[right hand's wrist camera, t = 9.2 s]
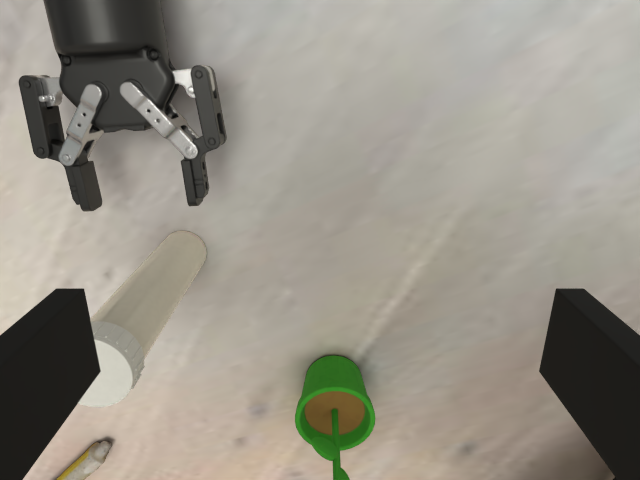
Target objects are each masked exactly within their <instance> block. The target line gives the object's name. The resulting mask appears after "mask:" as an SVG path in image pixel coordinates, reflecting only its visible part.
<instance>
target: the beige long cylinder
mask: <svg viewBox="0 0 640 480" xmlns="http://www.w3.org/2000/svg"><path fill="white" fill-rule="evenodd" d="M206 256H207V251H206V247H205V244H204V243H203V241H202V240H201V239H200V238H199V237H198V236H197V235H195V234H194V233H191V232H188V231H176V232H173V233H171V234H170V235H169V236H167V238H166V239H165V240H164V241H163V242H162V243H161V244H160V245H159V246H158V247H157V248H156V249H155V250H154V251H153V252H152V253H151V255H150V256H149V257H148V258H147V259H146V260H145V261H144V262H143V263H142V264H141V265H140V266H139V267H138V268H137V269H136V270H135V272H134V273H133V274H132V275H131V276H130V277H129V278H128V279H127V280H126V281H125V282H124V283H123V284H122V285H121V286H120V287H119V289H118V290H117V291H116V292H115V293H114V294H113V295H112V296H111V297H110V298H109V299H108V300H107V301H106V302H105V303H104V305H103V306H102V307H101V308H100V309H99V310H98V311H97V312H96V313H95V314H94V315H93V316H92V317H91V318H90V321H93V322H95V321H101V322H103V321H105V322H108V323H112V324H116V325H118V326H120V327H122V328H124V329H125V330H127V331H128V332H130V333H131V334H132V335H133V336H134V337H135V338H136V340H137V341H138V342H139V344H140V346H141V347H142V351H143V354H144V356H145V358H146V356H147V354H148V353H149V351H150V350H151V348H152V346H153V345H154V343H155V341H156V340H157V338H158V337H159V335H160V333H161V332H162V330H163V329H164V327H165V325H166V324H167V322H168V320H169V319H170V317H171V316H172V314H173V312H174V311H175V309H176V308H177V306H178V304H179V303H180V301H181V299H182V298H183V296H184V295H185V293H186V291H187V290H188V288H189V287H190V285H191V283H192V282H193V280H194V278H195V277H196V275H197V274H198V272H199V270H200V269H201V267H202V266H203V264H204V262H205V260H206ZM145 358H144V359H145Z"/></svg>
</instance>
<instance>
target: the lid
mask: <svg viewBox="0 0 640 480" xmlns="http://www.w3.org/2000/svg"><path fill="white" fill-rule="evenodd" d="M91 326H92V331H93V336H94V341H95V345H96V350H97V355H98V360H99V365H100V370H101V372H100V373H99V375H98V376H97V377H96V379H95V380H94V381H93V383H92V384H91V386H90V387H89V388H88V390H87V391H86V393H85V394H84V395H83V397H82V398H81V399H80V401H79V402H78V404H81V405H84V406H88V407H107V406H111V405H114V404H116V403H118V402H120V401H121V400H123V399H124V398H125V397H126V396H127V395H128V393H129V392H130V390H131V389H133V388H134V386H135V384H136V383H137V381H138V379H139V378H140V376H141V374H140V373H141V372H142V370H143V368H144V358H145V356H144V354H143V351H142V347H141V346H140V344H139V342H138V341H137V340H136V338H135V337H134V336H133V335H132V334H131V333H130V332H128V331H127V330H125V329H124V328H122V327H120V326H118V325H116V324H112V323H108V322H105V321H103V322H101V321H95V322H93V321H91Z"/></svg>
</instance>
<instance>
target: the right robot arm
mask: <svg viewBox="0 0 640 480" xmlns="http://www.w3.org/2000/svg"><path fill="white" fill-rule="evenodd" d="M100 372H101V370H100V365H99V360H98V355H97V350H96V345H95V341H94V336H93V331H92V326H91V321H90V316H89V311H88V306H87V301H86V296H85V292H84V289H55V290H54V291H53V292H52V293H51V294H49V295H48V296H47V297H46V298H45V299H43V300H42V301H41V302H40V303H39V304H37V305H36V306H35V307H34V308H33V309H31V310H30V311H29V312H28V313H27V314H25V315H24V316H23V317H22V318H21V319H19V320H18V321H17V322H16V323H15V324H13V325H12V326H11V327H10V328H9V329H8V330H6V331H5V332H4V333H3V334H2V335H0V480H23V478H24V477H25V475H26V474H27V473H28V471H29V470H30V469H31V467H32V466H33V464H34V463H35V462H36V460H37V459H38V457H39V456H40V455H41V453H42V452H43V451H44V449H45V448H46V446H47V445H48V444H49V442H50V441H51V439H52V438H53V437H54V435H55V434H56V433H57V431H58V430H59V428H60V427H61V426H62V424H63V423H64V422H65V420H66V419H67V417H68V416H69V415H70V413H71V412H72V410H73V409H74V408H75V406H76V405H77V404H78V402H79V401H80V399H81V398H82V397H83V395H84V394H85V393H86V391H87V390H88V388H89V387H90V386H91V384H92V383H93V381H94V380H95V379H96V377H97V376H98V375H99V373H100ZM539 372H540V373H541V375H542V376H543V377H544V379H545V380H546V381H547V383H548V384H549V386H550V387H551V388H552V390H553V391H554V393H555V394H556V395H557V397H558V398H559V399H560V401H561V402H562V404H563V405H564V406H565V408H566V409H567V410H568V412H569V413H570V415H571V416H572V417H573V419H574V420H575V422H576V423H577V424H578V426H579V427H580V428H581V430H582V431H583V433H584V434H585V435H586V437H587V438H588V439H589V441H590V442H591V444H592V445H593V446H594V448H595V449H596V451H597V452H598V453H599V455H600V456H601V457H602V459H603V460H604V462H605V463H606V464H607V466H608V467H609V469H610V470H611V471H612V473H613V474H614V475H615V478H614V479H613V480H640V335H638V334H637V333H636V332H635V331H634V330H632V329H631V328H630V327H629V326H628V325H626V324H625V323H624V322H623V321H622V320H621V319H619V318H618V317H617V316H616V315H615V314H613V313H612V312H611V311H610V310H609V309H607V308H606V307H605V306H604V305H603V304H601V303H600V302H599V301H598V300H597V299H595V298H594V297H593V296H592V295H591V294H589V293H588V292H587V291H586V290H585V289H556V292H555V296H554V301H553V306H552V311H551V316H550V321H549V326H548V331H547V336H546V341H545V345H544V350H543V355H542V360H541V365H540V370H539Z"/></svg>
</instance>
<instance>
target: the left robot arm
mask: <svg viewBox="0 0 640 480" xmlns="http://www.w3.org/2000/svg"><path fill="white" fill-rule="evenodd" d="M44 4H45V9H46V13H47V17H48V21H49V25H50V30H51V34H52V38H53V42H54V46H55V50H56V52H57V54H58V56H59V58H60V61H61V74H60V78H51V77H49V76H47V75H25V76H22V77H21V78H20V79H19V86H20V91H21V96H22V101H23V105H24V110H25V115H26V119H27V124H28V129H29V133H30V138H31V143H32V147H33V152H34V154H35V155H36V156H37V157H38V158H41V159H44V158H49V159H52V160H56V161H59V162H60V163H61V164H62V165H63V166H64V167H65V170H66V174H67V178H68V182H69V186H70V190H71V194H72V198H73V200H74V201H75V203H76V204H77V205H79V204H80V206H81V209H82V210H83V211H94V210H96V209H97V208H99V207H100V206H101V205H102V198H101V193H100V189H99V185H98V180H97V176H96V172H95V167H94V163H93V161H88V158H89V156H90V154H91V152H92V150H93V148H94V146H95V144H96V142H97V140H98V139H99V138H100V137H101V136H102V134H103V133H106V132H116V131H119V130H123V129H128V130H133V131H140V130H147V129H150V128H153V127H154V128H155V129H156V130H157V131H158V132H159V133H160V134H161V135H162V136H163V137H164V138H166V139H168V140H169V141H170V142H171V143H172V144H173V145H174V146H175V147H176V148H177V149H178V150H179V151H180V152H181V153H182V154H183V155H184V159H183V160H182V161H181V165H182V171H183V178H184V184H185V190H186V196H187V202H188V205H189V206H199V205H200V203H201V202H202V201H203V198H204V197H205V196H206V195H207V194H208V190H209V183H208V177H207V170H206V163H205V155H206V153H207V152H208V151H211V150H213V149H216V148H218V147H219V146H220V145H222V144H224V143H225V141H226V138H227V137H226V131H225V126H224V121H223V115H222V110H221V105H220V99H219V94H218V88H217V83H216V78H215V73H214V70H213V69H212V68H211V67H209V66H206V65H197V66H194V67H193V68H191V69H183V70H175V69H174V67H173V66H172V64H171V62H170V59H169V55H168V47H167V41H166V34H165V28H164V22H163V16H162V10H161V3H160V0H44ZM179 84H180V85H182V86H183V87H184V88H185V90H186V93H187V95H188V96H190V97H191V98H195V99H196V104H197V109H198V114H199V119H200V124H201V129H202V134H203V136H201V137H199V136H198V135H197V134H196V133H195V132H194V131H193V130H192V129H191V128H190V127H189V125H188V123H187V121H186V120H185V119H184V118H183V116H182V115H181V114H180V113H179V112H178V111H177V110H176V109H175V108H174V107H173V106H172V105H171V103H170V102H171V100H172V98H173V96H174V94H175V92H176V90H177V88H178V86H179ZM62 94H64V95H65V96H66V97H67V98H68V99H69V100H70V101H71V102H72V103H73V104H74V105H75V106H76V107H77V110H76V112H75V114H74V116H73V118H72V120H71V123H70V125H69V127H68V129H67V132H66V133H67V138H66V140H65V139H64V133H63V128H62V123H61V117H60V112H59V107H58V105H60V104H61V102H62ZM171 116H172V117H171Z"/></svg>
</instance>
